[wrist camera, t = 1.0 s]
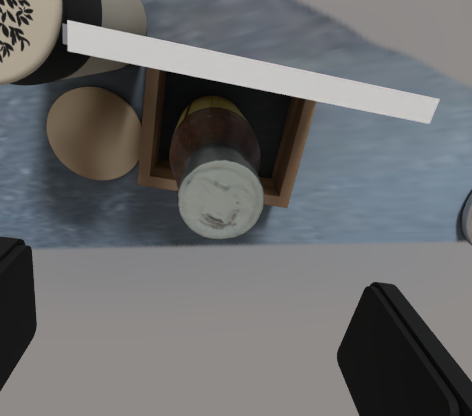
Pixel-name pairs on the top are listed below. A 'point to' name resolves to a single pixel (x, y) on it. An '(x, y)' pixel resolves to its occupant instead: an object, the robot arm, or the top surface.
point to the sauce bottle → (216, 169)
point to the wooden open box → (274, 188)
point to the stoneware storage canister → (58, 37)
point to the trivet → (94, 133)
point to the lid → (244, 72)
